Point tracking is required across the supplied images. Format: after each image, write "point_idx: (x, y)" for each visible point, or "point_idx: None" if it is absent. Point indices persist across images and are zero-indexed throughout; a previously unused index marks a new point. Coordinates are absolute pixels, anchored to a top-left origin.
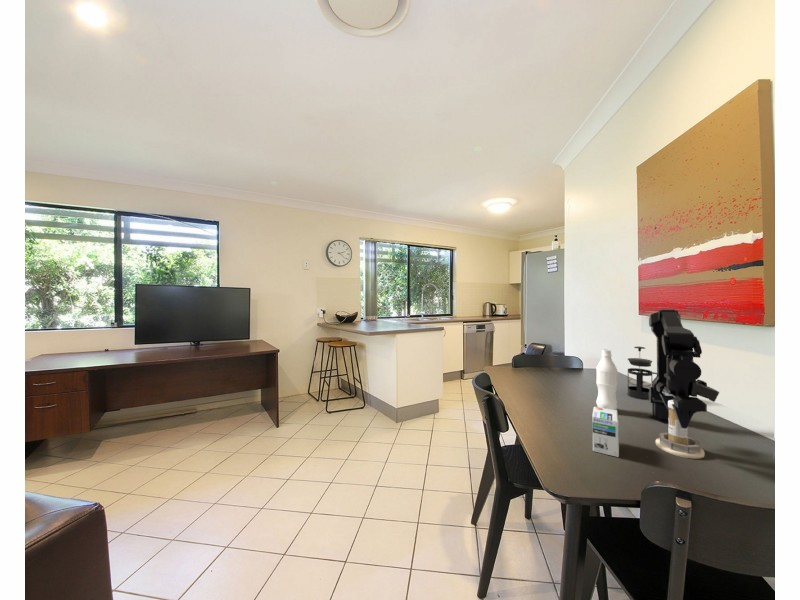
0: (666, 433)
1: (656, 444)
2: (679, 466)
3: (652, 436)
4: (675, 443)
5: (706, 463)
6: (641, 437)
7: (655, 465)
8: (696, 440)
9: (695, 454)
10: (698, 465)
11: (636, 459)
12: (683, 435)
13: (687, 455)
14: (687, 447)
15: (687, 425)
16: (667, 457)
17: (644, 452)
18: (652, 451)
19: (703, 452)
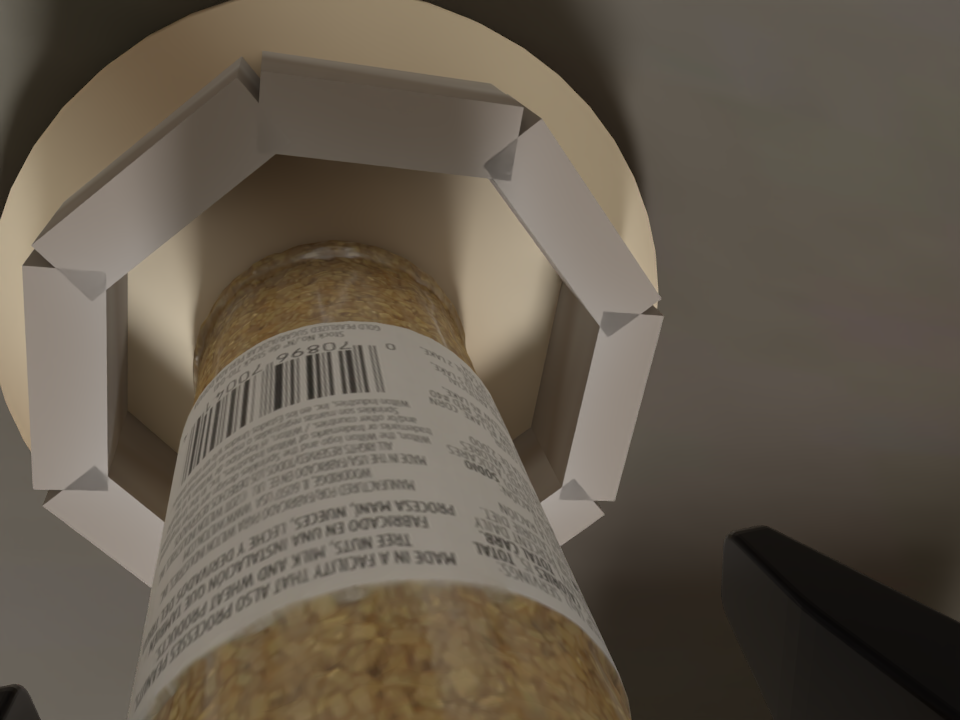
0: (153, 552)
1: None
2: (908, 385)
3: (11, 599)
4: (594, 466)
5: (713, 56)
6: None
7: (948, 575)
8: (209, 103)
9: (603, 177)
10: (816, 180)
11: None
12: (502, 420)
13: (654, 282)
14: (653, 319)
15: (841, 574)
16: (713, 472)
17: (674, 657)
18: (607, 596)
19: (448, 26)
